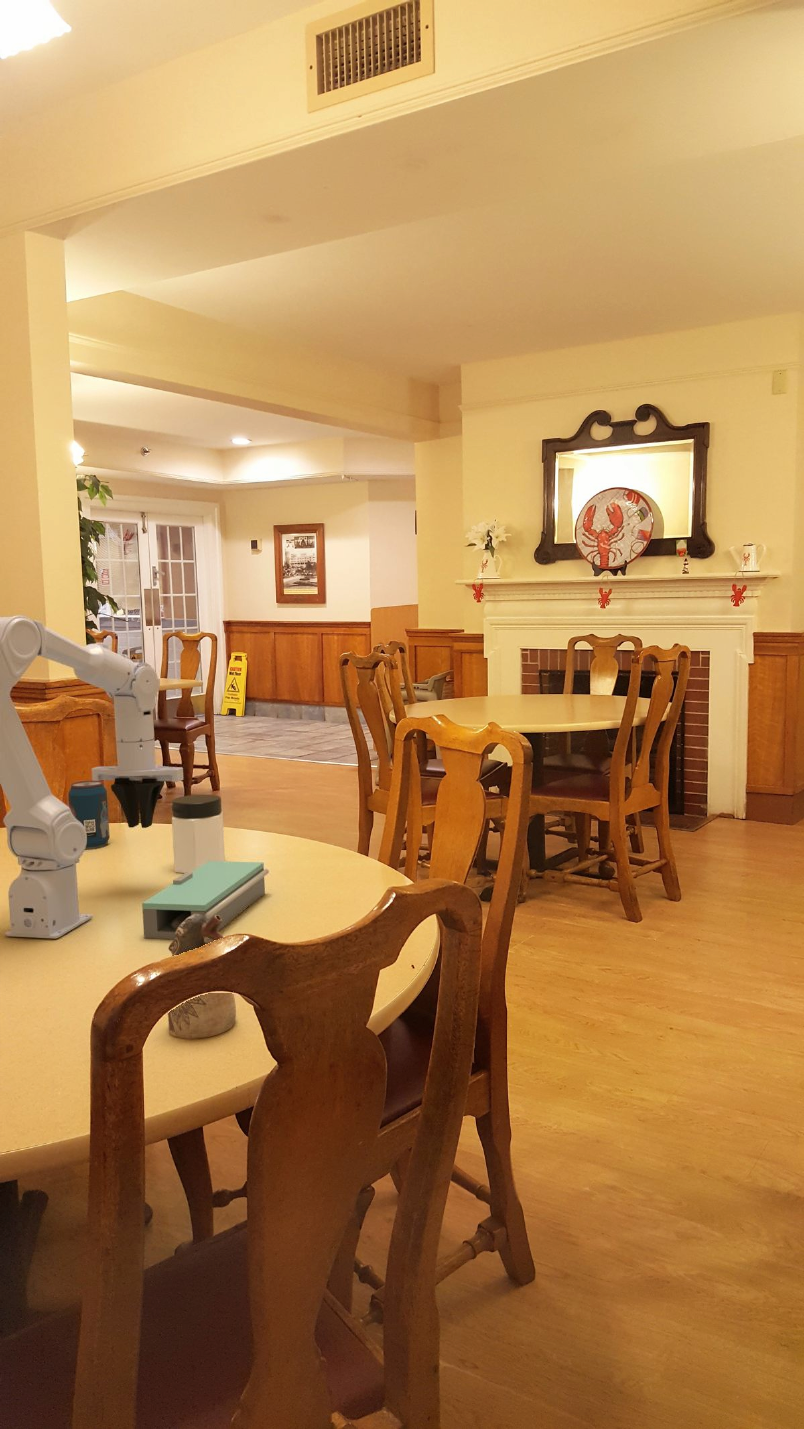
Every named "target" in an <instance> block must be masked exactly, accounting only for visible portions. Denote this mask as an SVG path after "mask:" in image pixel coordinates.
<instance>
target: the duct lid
mask: <svg viewBox="0 0 804 1429" xmlns="http://www.w3.org/2000/svg"><path fill="white" fill-rule="evenodd" d="M264 863H265V862H262V861H261V862H259V861H256V862H255V861H225V862H222V861H208V862H207V863H205V864H204V865H202V866H200V867H199V868H197V869H196V870H194V871H192V872H191V873H181V875H179V876H178V877H176V878H175V879H173V880H172V883H171V885H169V886H167V887H165V888H163V890H161V891H159V892H157V893H156V894H155V895H152V896H151V897H149V898H148V899H146V900H145V901H143V902H141V908H142V909H159V910H187V911H206V910H207V909H209V908H210V907H211V906H213V905H214V904H215V903H217V902H218V901H219V900H221V899H222V898H223V897H225V896H226V895H227V894H229V893H230V892H231V891H233V890H234V889H236V888H237V887H238V886H240V885H241V884H242V883H244V882H245V881H246V880H248V879H249V878H250V877H252V876H253V875H254V874H256V873H257V872H258V871H260V870H261V869H263V868H265V865H264Z"/></svg>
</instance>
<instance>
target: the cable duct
mask: <svg viewBox="0 0 804 1429" xmlns="http://www.w3.org/2000/svg"><path fill="white" fill-rule="evenodd" d="M264 868H265V867H264ZM264 868H263V869H261V870H260V871H258V872H257V873H256V874H254V875H253V876H252V877H250V878H249V879H248V880H246V881H245V882H244V883H242V884H241V885H240V886H238V887H237V888H236V889H234V890H233V891H231V892H230V893H229V894H227V895H226V896H225V897H223V898H222V899H221V900H219V901H218V902H217V903H215V904H214V905H213V906H211V907H210V908H209V909H207V910H206V911H187V910H159V909H142V922H143V923H142V924H143V938H144V939H154V940H155V939H158V940H159V939H160V940H173V941H174V939H175V932H176V930H177V928H178V927H179V926H180V925H181V924H182V923H183V921H185V920H186V919H187V918H188V917H190V916H192V915H194V914H200V915H202V916H203V917H204V919H205V920H206V923H208V922H209V920H210V919H211V918H212V917H213V916H215V915H219V916H220V918H221V919H222V922H221V924H220V925H219V927H218V928H217V931H218V932H220V931H221V930H222V929H224V928H225V927H226V926H227V925H228V924H230V923H231V922H232V921H233V920H234V919H236V918H237V917H238V916H239V915H240V914H242V913H243V912H244V911H246V910H247V909H248V908H249V907H251V904H252V905H253V904H254V903H255V902H257V901H258V900H259V899H260V898H262V896H264V895H265V894H266V890H265V888H266V886H265V884H266V883H265V876H267V875H268V874H269V873H270V870H269V869H268V868H265V869H264ZM248 906H249V907H248ZM247 907H248V908H247ZM246 908H247V909H246ZM243 910H244V911H243ZM241 912H242V913H241ZM238 914H239V915H238ZM236 916H237V917H236ZM235 917H236V918H235ZM231 920H232V921H231ZM230 921H231V922H230ZM224 926H225V927H224Z"/></svg>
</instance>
